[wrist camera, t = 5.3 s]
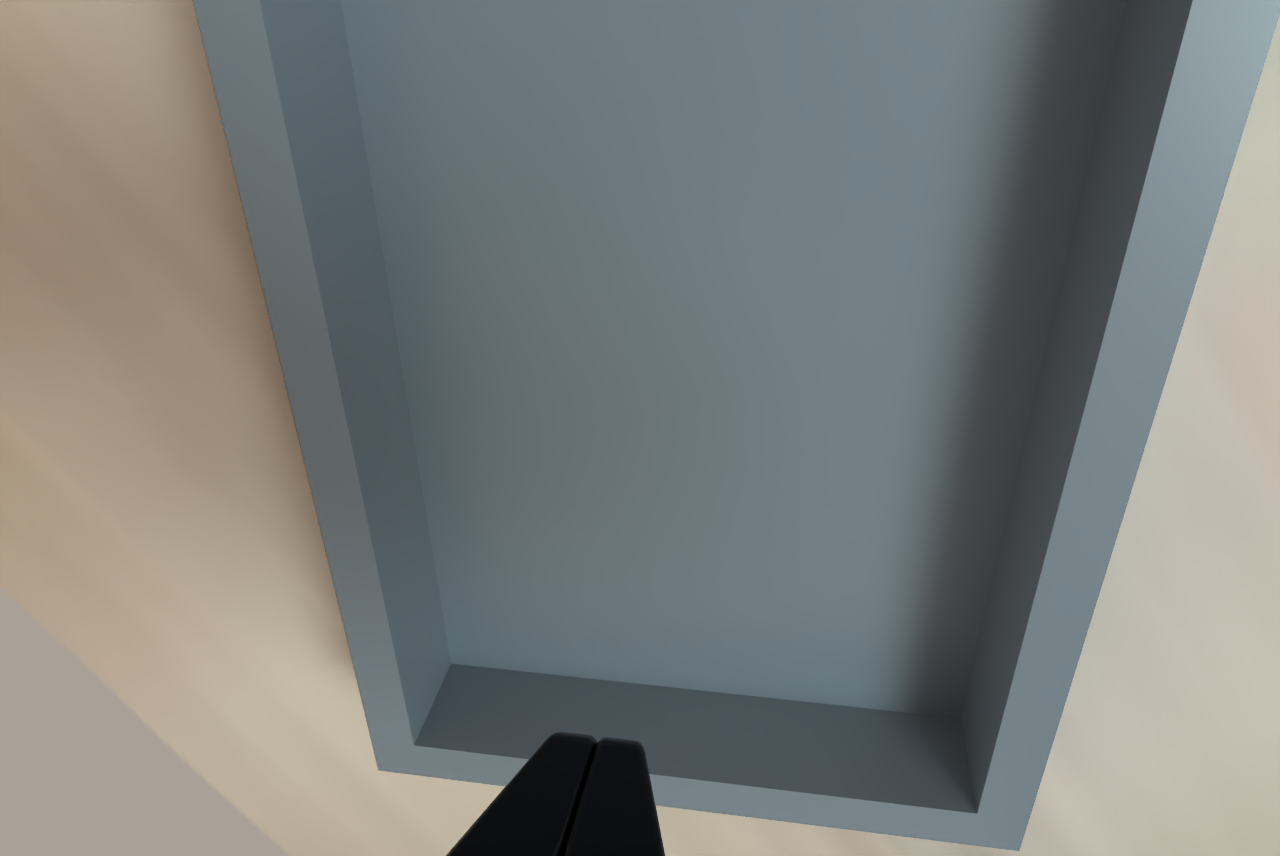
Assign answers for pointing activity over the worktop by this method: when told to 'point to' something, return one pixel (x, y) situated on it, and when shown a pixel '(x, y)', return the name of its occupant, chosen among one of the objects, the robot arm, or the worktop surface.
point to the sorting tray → (730, 366)
